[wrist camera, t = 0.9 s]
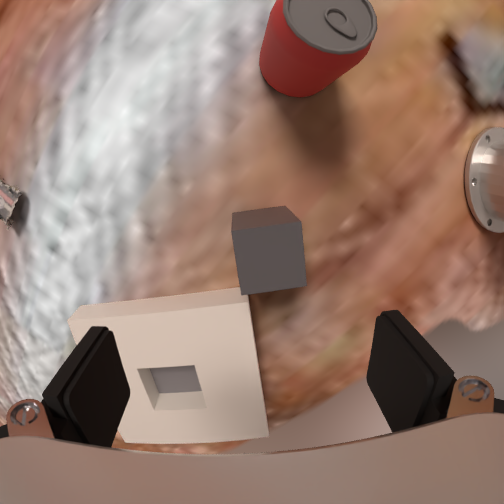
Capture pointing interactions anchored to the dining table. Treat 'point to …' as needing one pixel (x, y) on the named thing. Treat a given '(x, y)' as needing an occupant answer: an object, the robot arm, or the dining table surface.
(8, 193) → the table tennis paddle
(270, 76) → the beer can
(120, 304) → the socket
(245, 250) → the plug
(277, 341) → the dining table surface
